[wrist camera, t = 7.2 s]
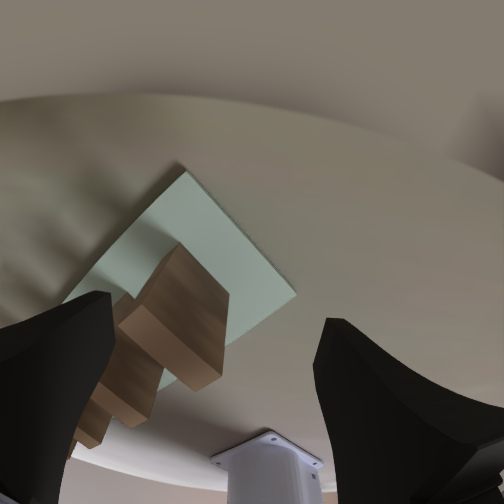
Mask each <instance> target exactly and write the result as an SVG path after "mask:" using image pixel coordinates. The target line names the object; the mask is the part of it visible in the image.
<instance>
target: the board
mask: <svg viewBox="0 0 504 504" xmlns="http://www.w3.org/2000/svg"><path fill="white" fill-rule="evenodd" d="M180 242H181V243H182V245H183V246H184V247H185V248H186V249H187V250H188V251H189V252H190V253H191V254H192V255H193V256H194V257H195V258H196V259H197V260H198V261H199V263H200V264H201V265H202V266H203V267H204V268H205V269H206V270H207V271H208V272H209V273H210V274H211V275H212V276H213V277H214V278H215V279H216V280H217V281H218V282H219V283H220V284H221V285H222V286H223V287H224V289H225V290H226V291H227V292H228V293H229V294H230V297H229V307H228V317H227V328H226V338H225V347H226V346H227V345H228V344H230V343H231V342H233V341H234V340H236V339H237V338H238V337H240V336H241V335H243V334H244V333H246V332H247V331H248V330H250V329H251V328H253V327H254V326H255V325H257V324H258V323H260V322H261V321H262V320H264V319H265V318H266V317H268V316H269V315H271V314H272V313H273V312H275V311H276V310H277V309H279V308H280V307H281V306H283V305H284V304H285V303H287V302H288V301H289V300H291V299H292V298H293V297H295V296H296V295H297V292H296V290H295V289H294V288H293V287H292V285H291V284H290V283H289V282H288V281H287V280H286V279H285V278H284V276H283V275H282V274H281V273H280V272H279V271H278V270H277V269H276V268H275V266H274V265H273V264H272V263H271V262H270V261H269V260H268V259H267V257H266V256H265V255H264V254H263V253H262V252H261V251H260V250H259V249H258V247H257V246H256V245H255V244H254V243H253V242H252V241H251V240H250V239H249V237H248V236H247V235H246V234H245V233H244V232H243V231H242V230H241V229H240V227H239V226H238V225H237V224H236V223H235V222H234V221H233V220H232V219H231V217H230V216H229V215H228V214H227V213H226V212H225V211H224V210H223V209H222V207H221V206H220V205H219V204H218V203H217V202H216V201H215V200H214V199H213V197H212V196H211V195H210V194H209V193H208V192H207V191H206V190H205V189H204V187H203V186H202V185H201V184H200V183H199V182H198V181H197V180H196V179H195V178H194V176H193V175H192V174H191V173H190V172H189V171H188V170H187V171H186V172H185V173H183V174H182V175H181V176H180V177H179V178H178V179H177V180H176V181H175V182H174V183H173V184H172V185H171V186H170V187H169V188H168V189H167V190H166V191H165V192H163V193H162V194H161V195H160V196H159V197H158V198H157V199H156V200H155V201H154V202H153V203H152V204H151V205H150V206H149V207H148V208H147V209H146V210H145V211H144V212H143V213H142V214H141V215H140V216H139V217H138V218H137V219H136V221H135V222H134V223H133V224H132V225H131V226H130V227H129V228H128V229H127V230H126V231H125V232H124V233H123V234H122V235H121V236H120V237H119V238H118V239H117V241H116V242H115V243H114V244H113V245H112V246H111V247H110V248H109V249H108V250H107V251H106V253H105V254H104V255H103V256H102V257H101V258H100V259H99V260H98V262H97V263H96V264H95V265H94V266H93V267H92V268H91V270H90V271H89V272H88V273H87V274H86V275H85V276H84V278H83V279H82V280H81V281H80V282H79V284H78V285H77V286H76V287H75V288H74V290H73V291H72V292H71V293H70V294H69V296H68V297H67V298H66V299H65V301H64V302H63V303H66V302H68V301H70V300H72V299H74V298H76V297H79V296H81V295H83V294H85V293H88V292H91V291H94V290H98V291H104V292H110V293H111V299H112V307H113V306H114V304H115V303H116V302H117V301H118V300H120V299H121V298H122V297H123V296H124V295H125V294H126V293H127V292H128V293H129V294H130V295H131V296H132V297H133V298H134V299H135V298H136V297H137V295H138V294H139V292H140V290H141V289H142V287H143V286H144V285H145V283H146V282H147V280H148V279H149V277H150V276H151V274H152V273H153V271H154V270H155V268H156V267H157V265H158V264H159V262H160V261H161V260H162V258H163V257H165V256H166V255H167V254H168V253H169V252H170V251H171V250H172V249H173V248H174V247H176V246H177V245H178V244H179V243H180ZM63 303H62V304H63ZM176 379H178V378H177V377H175V376H174V375H173V374H172V373H170V372H169V371H168V370H167V369H166V368H164V371H163V374H162V377H161V380H160V383H159V387H158V390H157V392H158V391H159V390H161V389H163V388H164V387H166V386H167V385H169V384H170V383H172V382H173V381H175V380H176ZM114 418H115V417H114V416H112V418H111V420H112V419H114ZM111 420H110V421H111Z"/></svg>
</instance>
